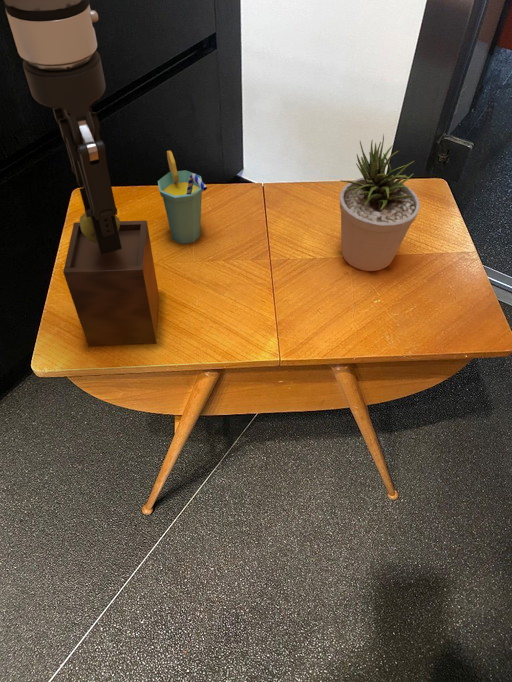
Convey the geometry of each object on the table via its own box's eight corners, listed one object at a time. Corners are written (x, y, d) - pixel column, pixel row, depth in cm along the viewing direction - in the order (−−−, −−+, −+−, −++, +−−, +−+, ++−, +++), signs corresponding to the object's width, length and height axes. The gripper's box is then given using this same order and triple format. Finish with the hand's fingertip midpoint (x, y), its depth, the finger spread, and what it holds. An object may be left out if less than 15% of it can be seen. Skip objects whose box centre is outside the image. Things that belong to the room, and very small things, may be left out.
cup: (228, 250, 95) (226, 175, 83) (189, 267, 92) (182, 192, 80) (186, 209, 102) (179, 135, 91) (149, 224, 99) (137, 149, 88)
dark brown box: (88, 346, 81) (62, 272, 69) (95, 298, 87) (73, 222, 75) (156, 343, 81) (142, 269, 70) (159, 295, 88) (146, 220, 76)
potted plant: (417, 245, 97) (450, 142, 82) (384, 291, 89) (414, 186, 74) (353, 220, 101) (374, 117, 86) (317, 261, 94) (332, 156, 78)
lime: (79, 239, 72) (70, 208, 68) (110, 224, 74) (103, 193, 70) (97, 256, 70) (89, 225, 66) (129, 240, 72) (122, 209, 68)
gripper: (122, 84, 50) (154, 271, 68) (76, 17, 60) (115, 196, 78) (39, 100, 48) (95, 289, 66) (6, 27, 58) (62, 210, 76)
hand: (105, 239), depth 72 cm, fingers closed on lime, 4 cm apart
